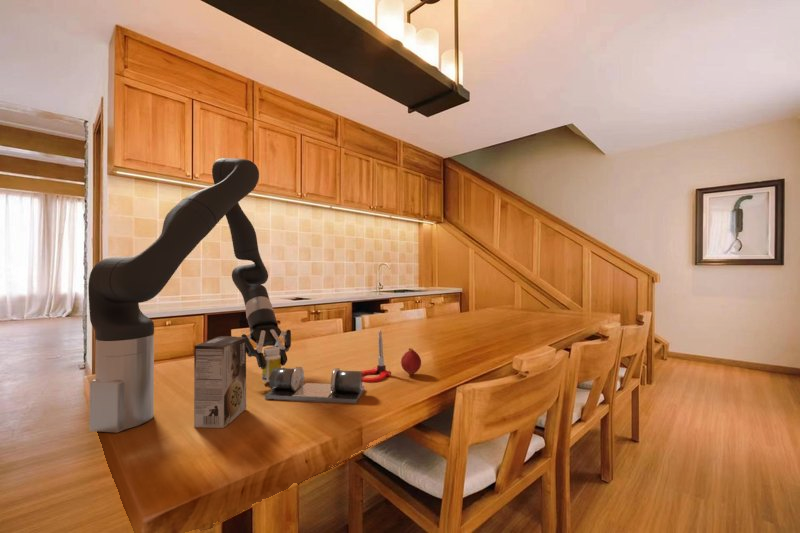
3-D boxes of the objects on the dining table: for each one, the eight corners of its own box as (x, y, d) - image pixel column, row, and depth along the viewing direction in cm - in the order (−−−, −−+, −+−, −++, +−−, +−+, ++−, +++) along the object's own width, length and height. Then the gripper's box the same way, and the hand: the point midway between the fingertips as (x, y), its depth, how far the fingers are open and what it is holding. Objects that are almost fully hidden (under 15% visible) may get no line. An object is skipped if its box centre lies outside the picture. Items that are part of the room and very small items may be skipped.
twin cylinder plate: (364, 389, 87) (364, 364, 87) (355, 403, 78) (356, 375, 78) (282, 386, 90) (282, 361, 90) (265, 399, 81) (265, 371, 81)
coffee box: (218, 408, 75) (218, 335, 75) (247, 409, 75) (247, 336, 75) (192, 428, 66) (192, 345, 66) (224, 428, 66) (225, 345, 66)
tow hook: (370, 386, 91) (393, 376, 98) (368, 338, 91) (392, 332, 98) (350, 379, 97) (373, 370, 104) (348, 334, 97) (372, 328, 104)
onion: (408, 370, 103) (408, 344, 104) (424, 374, 100) (424, 347, 100) (397, 375, 99) (397, 348, 99) (413, 379, 95) (413, 351, 95)
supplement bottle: (283, 376, 95) (284, 346, 95) (275, 382, 90) (276, 350, 90) (267, 376, 95) (267, 346, 95) (258, 381, 90) (259, 350, 90)
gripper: (237, 309, 94) (248, 362, 84) (288, 306, 103) (303, 353, 93) (232, 325, 98) (242, 378, 89) (281, 321, 107) (296, 368, 98)
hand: (274, 365), depth 91 cm, fingers closed on supplement bottle, 4 cm apart
